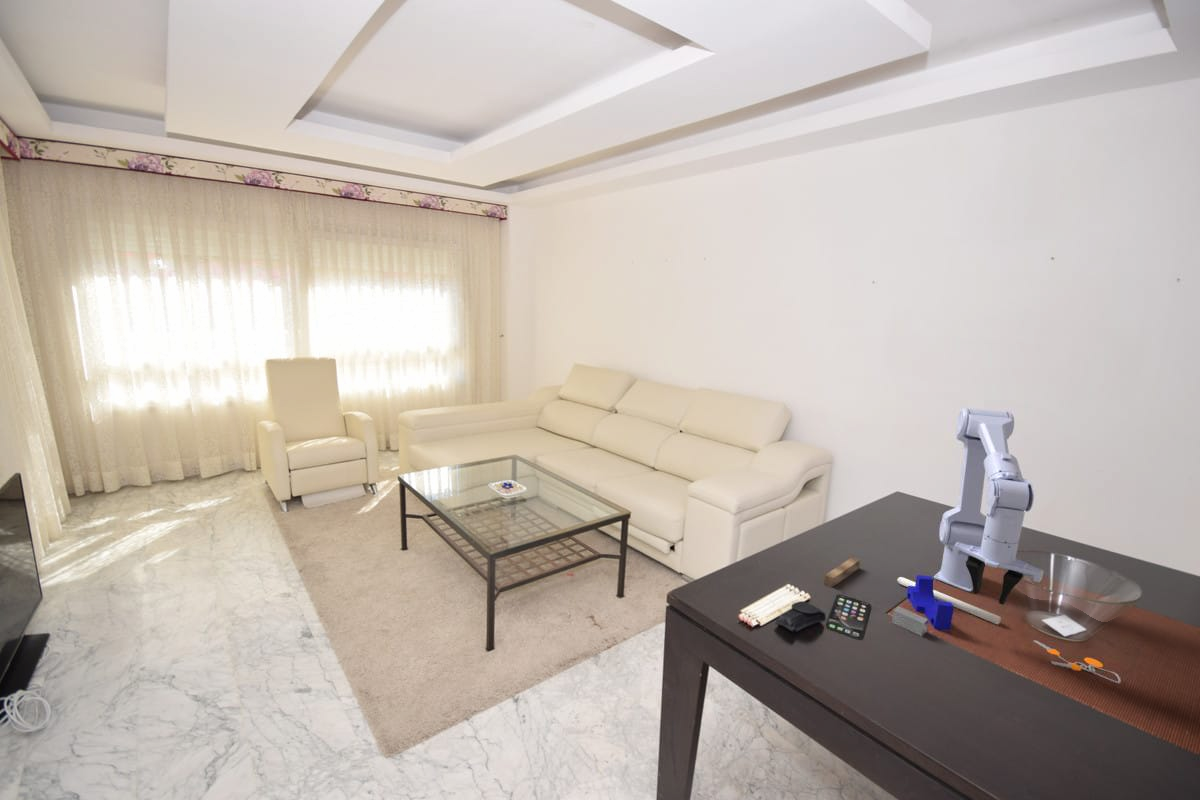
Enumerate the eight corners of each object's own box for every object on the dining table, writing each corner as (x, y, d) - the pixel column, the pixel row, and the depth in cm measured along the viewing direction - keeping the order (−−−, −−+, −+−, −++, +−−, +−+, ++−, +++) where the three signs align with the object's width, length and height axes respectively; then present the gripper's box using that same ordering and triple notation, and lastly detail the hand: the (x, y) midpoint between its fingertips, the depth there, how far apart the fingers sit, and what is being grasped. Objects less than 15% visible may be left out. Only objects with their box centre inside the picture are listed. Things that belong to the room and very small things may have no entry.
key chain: (1116, 667, 102) (1117, 663, 102) (1122, 689, 96) (1123, 685, 96) (1032, 639, 110) (1033, 636, 110) (1033, 658, 104) (1034, 655, 104)
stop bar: (851, 565, 138) (852, 557, 137) (858, 568, 136) (859, 560, 136) (824, 583, 129) (825, 575, 128) (831, 587, 127) (832, 578, 127)
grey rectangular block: (896, 618, 116) (898, 606, 115) (926, 631, 111) (928, 619, 111) (891, 622, 114) (893, 610, 114) (921, 636, 110) (923, 623, 109)
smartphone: (824, 627, 112) (836, 593, 125) (823, 629, 112) (836, 595, 125) (862, 640, 108) (871, 603, 121) (861, 642, 109) (871, 606, 121)
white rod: (898, 581, 130) (899, 574, 130) (1000, 622, 115) (1001, 615, 114) (895, 583, 129) (896, 577, 129) (997, 626, 114) (998, 618, 113)
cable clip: (906, 596, 124) (909, 574, 123) (927, 599, 123) (930, 576, 122) (926, 628, 113) (930, 603, 112) (949, 631, 112) (954, 606, 111)
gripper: (952, 529, 108) (942, 588, 111) (1041, 557, 97) (1027, 622, 100) (964, 520, 112) (954, 577, 115) (1050, 546, 101) (1037, 608, 104)
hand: (989, 597), depth 108 cm, fingers open, 4 cm apart
